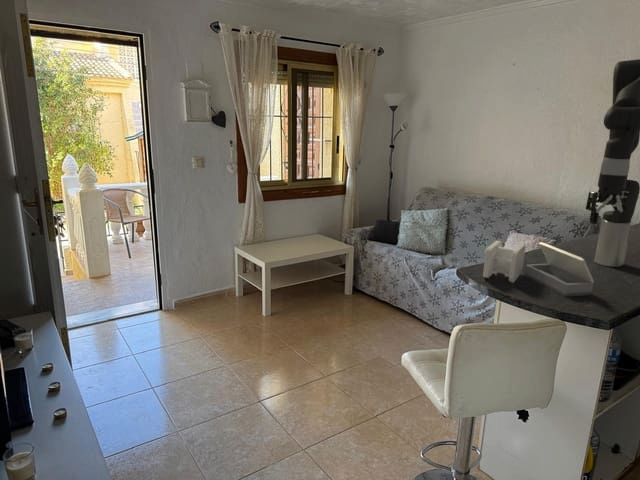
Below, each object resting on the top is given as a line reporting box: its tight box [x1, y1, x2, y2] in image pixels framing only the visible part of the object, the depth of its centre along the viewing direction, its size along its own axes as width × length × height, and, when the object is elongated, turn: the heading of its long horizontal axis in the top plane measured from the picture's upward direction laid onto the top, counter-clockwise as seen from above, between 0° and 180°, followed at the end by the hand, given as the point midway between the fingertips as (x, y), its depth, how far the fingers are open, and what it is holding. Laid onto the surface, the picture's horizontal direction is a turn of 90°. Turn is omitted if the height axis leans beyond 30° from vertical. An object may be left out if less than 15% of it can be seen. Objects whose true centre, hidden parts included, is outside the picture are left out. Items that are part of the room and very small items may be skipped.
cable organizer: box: [482, 240, 526, 284], centre depth 158 cm, size 15×11×12 cm
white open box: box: [523, 263, 594, 298], centre depth 153 cm, size 10×20×4 cm, turn 13°
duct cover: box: [538, 241, 595, 284], centre depth 152 cm, size 10×20×1 cm
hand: (603, 223), depth 146 cm, fingers open, 7 cm apart
